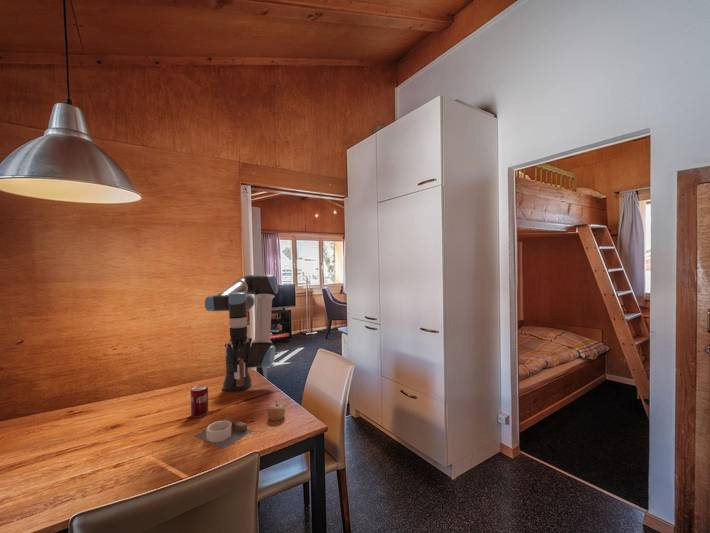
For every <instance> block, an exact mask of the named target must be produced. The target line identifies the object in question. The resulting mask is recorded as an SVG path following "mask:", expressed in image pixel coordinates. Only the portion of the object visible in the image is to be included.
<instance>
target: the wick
mask: <svg viewBox="0 0 710 533" xmlns="http://www.w3.org/2000/svg"><path fill="white" fill-rule="evenodd" d="M224 420H227V421H230V422H232V429H233V430H236V431H238V432H241V433H242V432H244V431H246V430H247V429H248V424H247V423H245V422H242V421H241V420H237V419H234V418H231V417H228V416H227V417H225V418H223V419H222V421H224Z"/></svg>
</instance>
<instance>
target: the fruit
mask: <svg viewBox="0 0 710 533" xmlns="http://www.w3.org/2000/svg"><path fill="white" fill-rule="evenodd" d="M285 414H286V408H285V406H284V405H283V404H282V403H279V402H278V401H277V400H276V401H275V403H273V404H271V405H270V406H269V407H268V410H267V416H268V419H269V420H270V421H272V422H278V421H281V420H282V419H283V418H284V417H285Z"/></svg>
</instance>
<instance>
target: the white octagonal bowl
mask: <svg viewBox="0 0 710 533" xmlns="http://www.w3.org/2000/svg"><path fill="white" fill-rule="evenodd" d="M205 430H206V440H208V441H210V442H219V441H223V440H225V439H227V438H229V437H231V434H232V422H230V421H227V420H224V421H223V420H219V421H218V420H217V421H214V422H212V423H210V424H208V425H207V426H206V429H205Z"/></svg>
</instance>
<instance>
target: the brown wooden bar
mask: <svg viewBox="0 0 710 533" xmlns="http://www.w3.org/2000/svg"><path fill="white" fill-rule="evenodd" d="M238 365H239V374H240V379H236V386H239V387H240V386H243V385H244V359H242V358H239V359H238Z"/></svg>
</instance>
